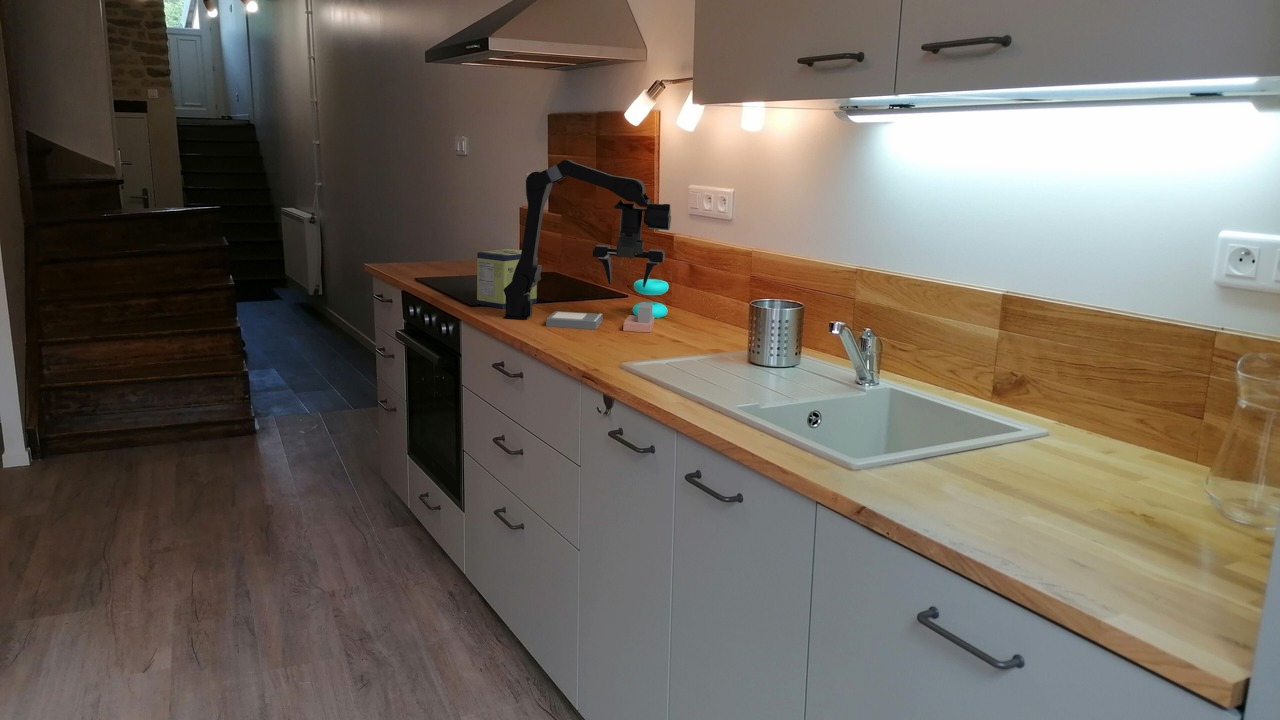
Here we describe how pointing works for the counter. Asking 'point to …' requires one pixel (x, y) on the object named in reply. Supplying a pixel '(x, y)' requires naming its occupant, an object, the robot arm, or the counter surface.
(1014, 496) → the counter surface
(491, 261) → the protein box
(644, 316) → the pink and grey block
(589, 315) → the grey flat box
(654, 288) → the donuts
